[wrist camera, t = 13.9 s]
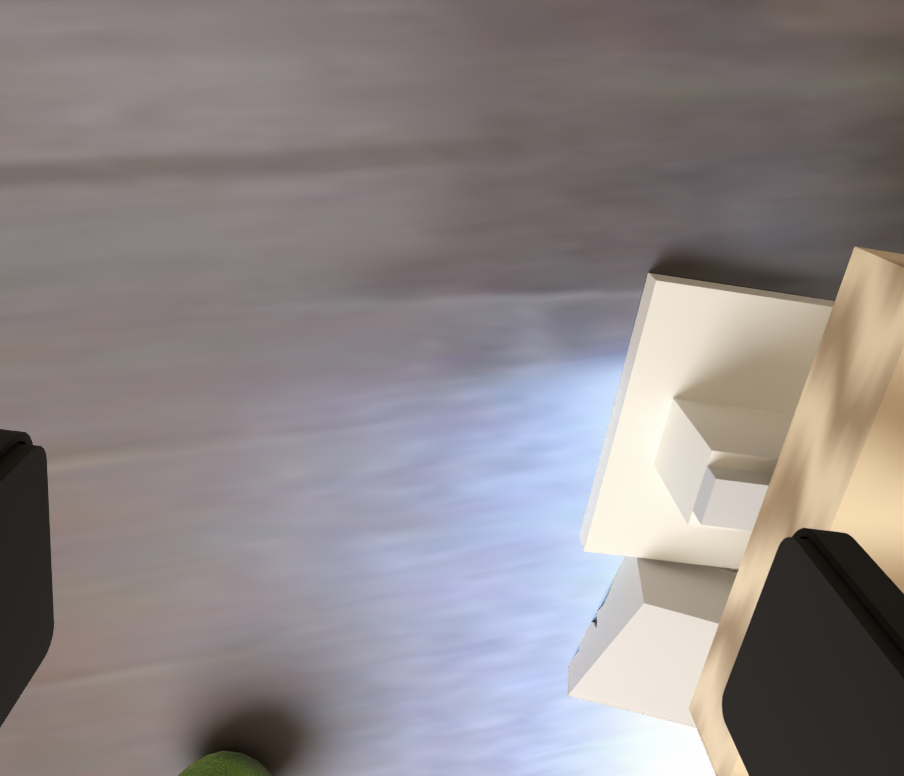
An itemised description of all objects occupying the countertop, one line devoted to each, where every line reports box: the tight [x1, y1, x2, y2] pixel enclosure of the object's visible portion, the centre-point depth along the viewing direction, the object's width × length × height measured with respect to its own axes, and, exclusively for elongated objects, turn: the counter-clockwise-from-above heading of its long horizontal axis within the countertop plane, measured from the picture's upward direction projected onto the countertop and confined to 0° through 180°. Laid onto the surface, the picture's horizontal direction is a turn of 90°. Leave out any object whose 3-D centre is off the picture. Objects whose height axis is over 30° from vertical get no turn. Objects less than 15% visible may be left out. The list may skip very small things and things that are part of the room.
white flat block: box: [568, 556, 737, 727], centre depth 50 cm, size 34×5×10 cm
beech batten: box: [689, 247, 904, 776], centre depth 33 cm, size 24×4×5 cm, turn 171°
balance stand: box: [579, 273, 835, 569], centre depth 39 cm, size 16×14×9 cm
